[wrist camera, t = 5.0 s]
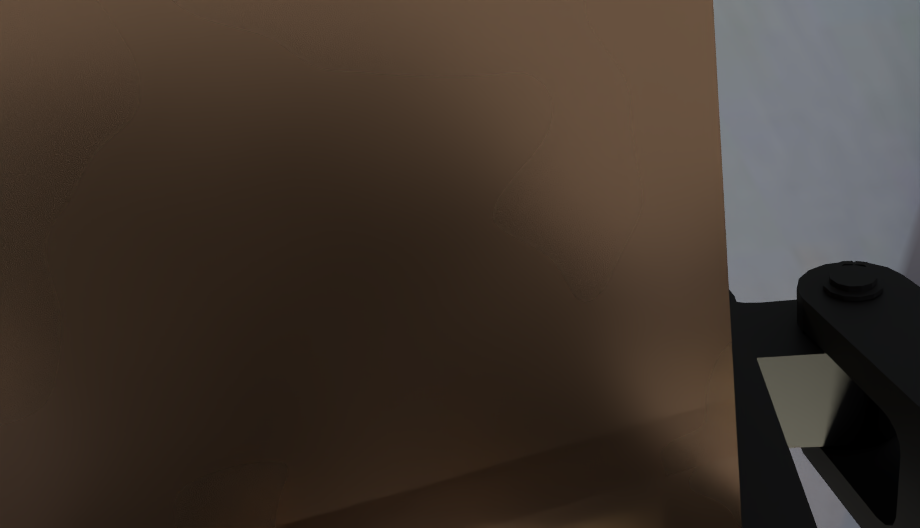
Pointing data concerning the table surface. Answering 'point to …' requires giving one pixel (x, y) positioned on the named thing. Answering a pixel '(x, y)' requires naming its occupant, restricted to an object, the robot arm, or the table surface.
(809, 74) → the table surface
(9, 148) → the wooden l-shaped block
